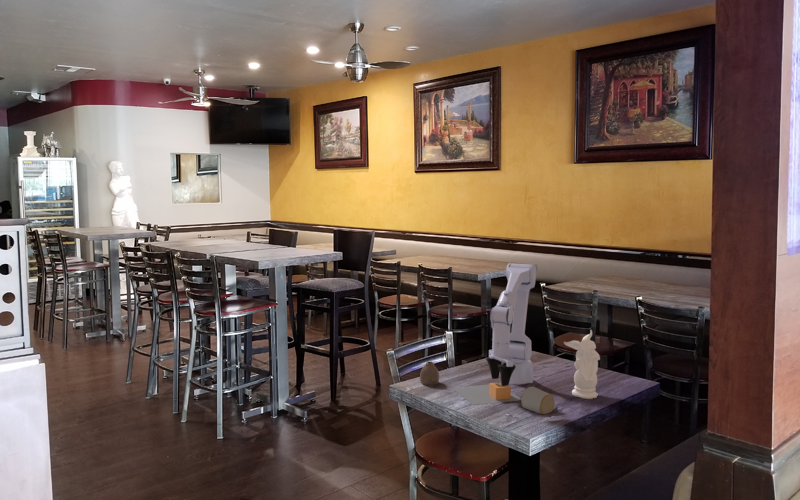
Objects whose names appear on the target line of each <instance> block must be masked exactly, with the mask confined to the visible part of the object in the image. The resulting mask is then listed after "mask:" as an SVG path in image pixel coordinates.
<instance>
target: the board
mask: <svg viewBox="0 0 800 500" xmlns="http://www.w3.org/2000/svg"><path fill="white" fill-rule="evenodd" d="M452 389H453V390H454V391H455V392H457V393H458V394H459V396H461V397H462V398H464V399H465V401H467V402H468V403H469V404H470V405H472V406H475V405H476V406H477V405H485V404H494V403H495V404H497V403H506V402H507V403H509V402H516V401H517V402H518V401H522V397H521V398H520V396H518V395H516V394H515V393H513V392H512V391H511V399H501V400H495V399H494V398H492V397H491V396H490V395H489V384H480V385H479V384H478V385H469V386H468V385H466V386H456V387H452Z"/></svg>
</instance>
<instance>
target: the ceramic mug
mask: <svg viewBox="0 0 800 500" xmlns="http://www.w3.org/2000/svg"><path fill="white" fill-rule="evenodd" d="M521 399H522V400H521V406H522V409H526V410H528V411H530V412H531V411H532V412H533V413H535V414H536V413H537V414H539V415H545V414H549V413H552V412H553V411H554V410H555V409H556V408H557V405H555V403H556V402H555V397H554V396H553V395H552V394H551V393H549V392H546V391H544V390H542V389H540V388H537V387H536V386H529V387H527V388H526V389H525V390H524V392H523V393H522V396H521Z"/></svg>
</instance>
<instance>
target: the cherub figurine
mask: <svg viewBox="0 0 800 500" xmlns="http://www.w3.org/2000/svg"><path fill="white" fill-rule="evenodd" d="M592 336H593V330H592V329H590V333H589V334H586V335H585V336H583V337H582V339H581V341H579V340H571V341H563V344H564V345H565V346H566V347H569V348H571V349H573V350H577V351H576V353H575V358H576V359H575V361H574V364H573V365H574V366H573V367H574V368H575V370H576V371H575V372H574V375H573V382H574V388H573V389H572V390H571V394H572V395H573V396H574V397H576V398H577V397H578V398H579V399H587V400H593V398H594V399H596V398H598V397H597V396H598V395H599V394H598V392H596V390H597V388H596V387H597V384H598V376H597V373H598V368H599V361H600V360H601V357H600V354H599V353H598V352H597V351H596V349H597V345H596V343H595V341H593V340H591V338H592Z"/></svg>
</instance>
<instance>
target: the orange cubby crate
mask: <svg viewBox="0 0 800 500" xmlns="http://www.w3.org/2000/svg"><path fill="white" fill-rule="evenodd" d="M497 383H499V382H498V381H497V382H490V383H489V382H488V385H489V395H490V396H491V397H492V398H494V399H495V400H501V399H511V392H512V387H511V386H510V385H508V386H503V387H499V386H497ZM500 383H501V381H500Z"/></svg>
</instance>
